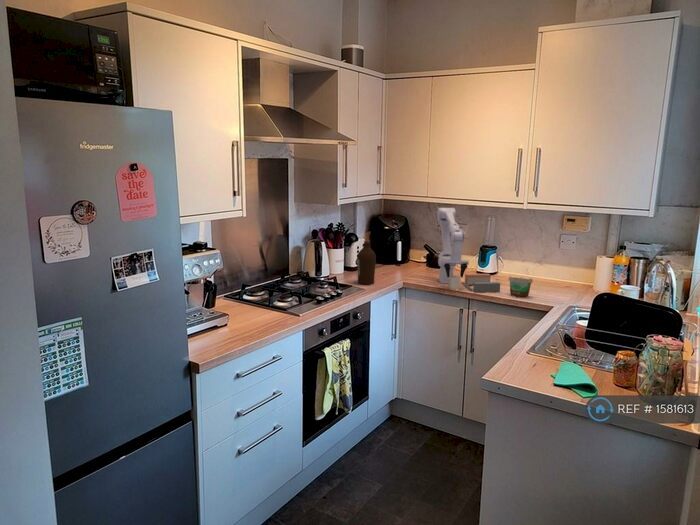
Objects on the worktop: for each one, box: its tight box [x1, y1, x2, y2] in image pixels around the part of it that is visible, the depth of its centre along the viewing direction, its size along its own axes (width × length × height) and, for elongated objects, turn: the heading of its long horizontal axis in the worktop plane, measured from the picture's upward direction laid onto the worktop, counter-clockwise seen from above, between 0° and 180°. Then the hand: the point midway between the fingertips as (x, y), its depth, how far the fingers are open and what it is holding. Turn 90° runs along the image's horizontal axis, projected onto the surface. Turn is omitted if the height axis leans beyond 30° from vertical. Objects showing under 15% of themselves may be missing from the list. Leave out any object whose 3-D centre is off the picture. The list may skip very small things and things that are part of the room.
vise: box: [460, 281, 501, 294], centre depth 288 cm, size 20×17×5 cm
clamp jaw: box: [464, 273, 492, 286], centre depth 294 cm, size 3×14×6 cm, turn 96°
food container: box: [508, 276, 534, 298], centre depth 271 cm, size 12×6×10 cm, turn 62°
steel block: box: [447, 275, 461, 291], centre depth 285 cm, size 5×5×7 cm
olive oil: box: [356, 239, 377, 286], centre depth 292 cm, size 11×11×25 cm
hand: (454, 277), depth 284 cm, fingers open, 7 cm apart
